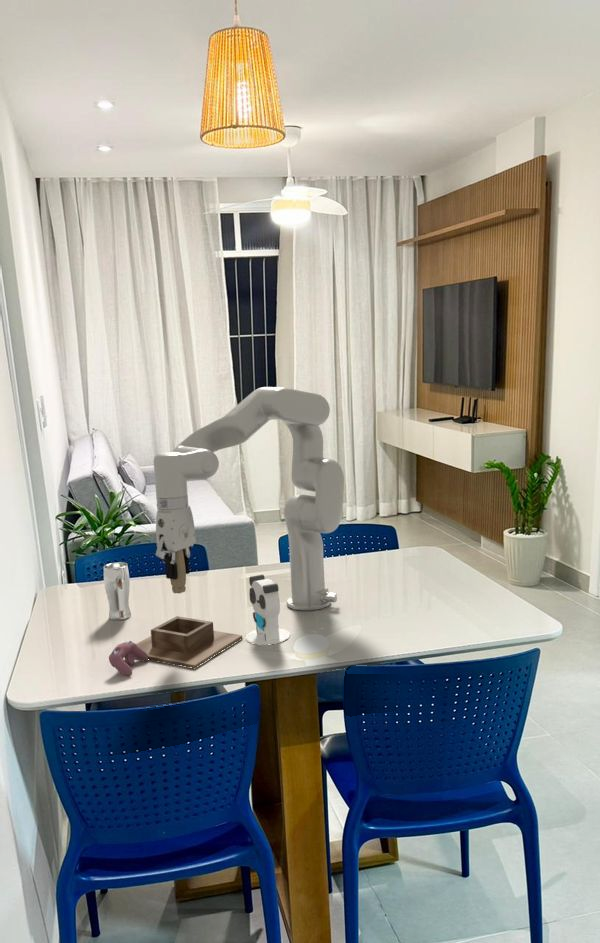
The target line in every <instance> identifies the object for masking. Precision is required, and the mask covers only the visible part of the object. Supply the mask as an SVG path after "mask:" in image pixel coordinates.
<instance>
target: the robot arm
mask: <svg viewBox="0 0 600 943" xmlns="http://www.w3.org/2000/svg"><path fill="white" fill-rule="evenodd" d="M330 412H331V409H330V404H329V402H328V400H327V399H326V397H324V396H323V395H321V394H318V393H314V392H308V391H303V390H299V389H293V388H290V387H289V388H288V387H283V386H282V387H281V386H274V387H273V386H263V387H258V388H257V389H255V390H253V391H252V392H251V393H250V394H248V395H247V396H246V397H245V398H244V399H243V400H241V401H240V402H239V403H238V404H236V406H235V407H234V408H231V410H230V411H229V412H228V413H226V414H225V415H224V416H222V417H221V418H218V419H216V420H214V421H212V422H211V423H208V424H207V425H204V426H203V427H201V428H199V429H197V430H195V431H194V432H192V433H191V434H189V435H188V436H187V437H185V439H183V440H182V441H181V442H180V443H179V444H178V445H177V446H176V447H175V448H174V449H173V450H172V451H166V452H165V451H164V452H159V453H156V455H154V457H153V473H154V483H155V496H156V508H157V509H156V517H155V538H156V540H155V541H156V547H157V548H156V551H155V556H156V557H157V558H159V559H161V560H162V563H163V564H164V568H165V570H164V571H165V578H166V579H168V580H170V579H175V580H176V579H178V573H177V563H175V552H177V551H180V550H182V549H183V554H184V561H185V569H186V575H189V574H190V573H191V572H190V570H191V569H190V557H191V550H192V548H193V547H194V544H195V543H196V530H195V528H196V527H195V522H194V521H195V520H194V517H193V512H192V508H191V506H190V505H189V497H188V496H189V495H188V494H189V493H188V481H189V480H190V481H191V480H192V481H193V480H207V479H209V478H212V477H213V476H214V475H215V474H216V473H217V472H218V470H219V465H220V461H219V458H218V456H217V455H216V454H215V453H216V452H218V451H219V450H223V449H227V448H231V447H236V446H238V445H241V444H244V443H246V442H247V441H248V440H250V438H252V436H253V435H255V433H257V432H259V430H261V428H263V427H264V426H265V425H266V424H268V422H270V421H271V420H274V421H282V422H283V423H284V425H286V427H287V428H288V430H289V432H290V434H291V438H292V458H291V474H290V475H291V482H292V484H293V486H294V487H295V488H297V489H300V490H302V491H303V490H304V491H307V492H308V491H309V492H314V493H315V494H314V495H310V494H309V495H307V494H295V495H293V496H291V497H290V498H289V499H288V500H287V501H286V503H285V504H284V508H283V517H284V522H285V526H286V530H287V536H288V546H289V548H288V549H289V565H290V584H291V596H290V597H289V598H287V599H286V605H287V607H288V608H290V609H293V610H295V611H296V610H297V611H306V612H307V611H315V610H321V609H324V608H327V607H328V606H329V605H331V603H336V602H337V601H338V596H337V593H334V592H330V591H329V587H326V586H325V585H326V583H325V567H324V566H325V564H324V562H325V561H324V543H323V539H322V535H321V534H330V533H333V532H334V531H336V530H337V529H338V527H339V526H340V523H341V521H342V516H343V503H344V488H345V475H344V474H345V473H344V470H343V468H342V466H341V465H340V464H339V463H338V462H337V461H336V460H334V459H331V458H327V457H324V435H323V432H322V430H321V428H320V426H321V425H323V424H324V423H325V422H326V421H327V420H328V419H329V417H330V416H329V415H330ZM187 532H188V537H187V538H186V537H185V538H184V534H185V533H187ZM169 553H170V556H169Z"/></svg>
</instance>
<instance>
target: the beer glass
mask: <svg viewBox="0 0 600 943" xmlns="http://www.w3.org/2000/svg"><path fill="white" fill-rule="evenodd" d="M130 583H131V582H130V573H129V567H128V563H126V562H121V561H119V562H117V561H116V562H111V563H106V564H105V565H104V566H103V584H104V589H105V594H106V597H107V600H108V601H107V602H108V604H109V612H108V619H109V620H111V621H124V620H127V619H129V618H130V617H131V616H132V612H131V609H130V605H129V604H130V603H129V597H130V588H131V587H130V585H131V584H130Z"/></svg>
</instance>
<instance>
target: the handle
mask: <svg viewBox="0 0 600 943" xmlns="http://www.w3.org/2000/svg"><path fill="white" fill-rule="evenodd" d="M185 537H186V538H187V537H188V532H187V533H185V534H184V538H185ZM168 555H169V556H170V553H168ZM175 563H177V573H178V579H176V580H175V579H169V581H170V585H171V591H172V593H173V594H182V593H185V592H186V589H187V588H186V582H187V577H186V576H187V574H186V569H185V561H184V554H183V549H182V550H180V551H177V552H175Z"/></svg>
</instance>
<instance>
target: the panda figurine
mask: <svg viewBox="0 0 600 943" xmlns="http://www.w3.org/2000/svg"><path fill="white" fill-rule="evenodd" d="M248 583H249V585H250V588H249V600H250V603H251V605H252V609H253V611H254V612H252V618H253V621H254V623H255V627H256V629H254V630H251V631H249V632H248V633H247V634H246V635H245V640H247V641H249V642H250V644H251V643H254V644H258V645H257V646H269V645H268V644H275V643H279V642H282V641H285V640H286V639H288V638H289V637H291V633H290V631H289V630H287V629H284V628H282V627H281V628H280V627H279V615H280V613H281V611H280V610H281V603H280V594H279V585H278V583H275V582H274V581H273V580H271V579H270V578H265V575H264V574H258V575H254V576H253V575H252V576H249V580H248ZM289 639H290V638H289ZM289 639H288V640H289ZM247 641H246V642H247ZM286 641H287V640H286ZM286 641H285V642H286ZM249 642H248V643H249ZM282 643H283V642H282ZM254 644H253V645H254ZM259 644H260V645H259ZM279 644H280V643H279ZM275 645H276V644H275Z"/></svg>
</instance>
